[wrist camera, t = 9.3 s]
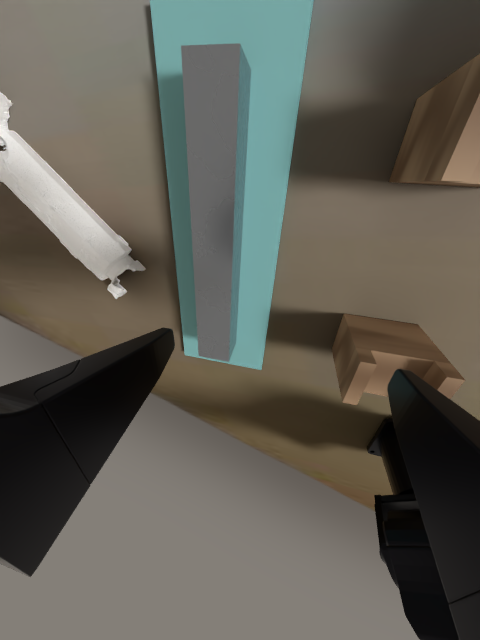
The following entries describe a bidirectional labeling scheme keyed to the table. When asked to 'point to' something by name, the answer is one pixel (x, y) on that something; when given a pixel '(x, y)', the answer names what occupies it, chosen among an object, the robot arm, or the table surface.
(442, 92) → the stand
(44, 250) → the table surface
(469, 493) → the robot arm
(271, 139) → the mat
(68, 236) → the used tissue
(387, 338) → the stand
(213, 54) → the rail
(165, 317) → the table surface
